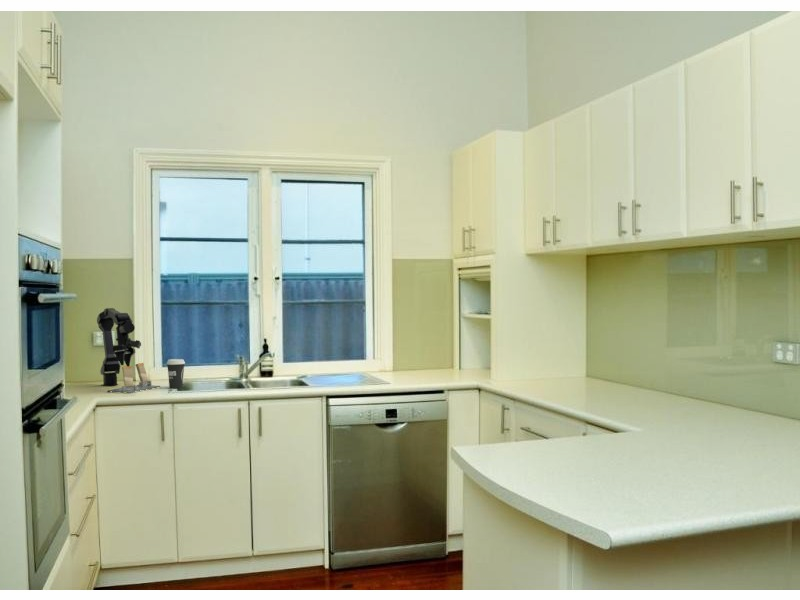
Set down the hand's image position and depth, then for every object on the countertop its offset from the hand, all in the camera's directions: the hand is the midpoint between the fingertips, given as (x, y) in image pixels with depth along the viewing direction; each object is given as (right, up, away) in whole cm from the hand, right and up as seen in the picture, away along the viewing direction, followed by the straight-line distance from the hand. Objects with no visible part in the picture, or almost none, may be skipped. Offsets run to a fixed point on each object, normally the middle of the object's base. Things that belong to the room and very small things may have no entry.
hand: (125, 365), depth 348 cm
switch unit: (+4, -13, +1) cm, 13 cm away
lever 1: (+5, -11, -8) cm, 14 cm away
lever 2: (+7, -10, +9) cm, 15 cm away
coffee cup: (+24, -13, +8) cm, 28 cm away
